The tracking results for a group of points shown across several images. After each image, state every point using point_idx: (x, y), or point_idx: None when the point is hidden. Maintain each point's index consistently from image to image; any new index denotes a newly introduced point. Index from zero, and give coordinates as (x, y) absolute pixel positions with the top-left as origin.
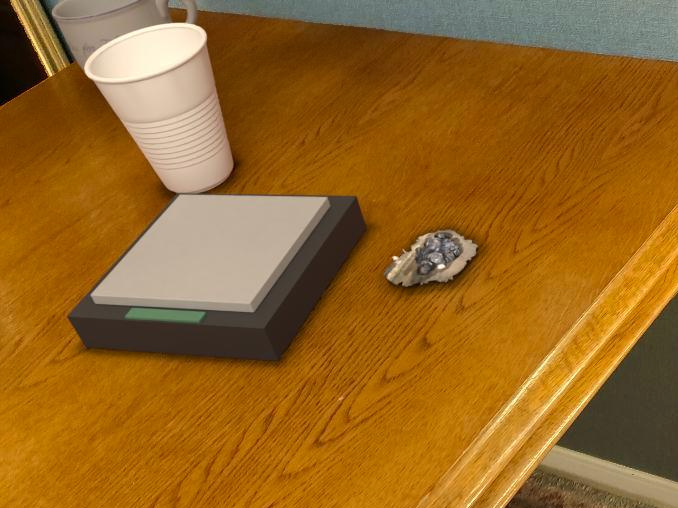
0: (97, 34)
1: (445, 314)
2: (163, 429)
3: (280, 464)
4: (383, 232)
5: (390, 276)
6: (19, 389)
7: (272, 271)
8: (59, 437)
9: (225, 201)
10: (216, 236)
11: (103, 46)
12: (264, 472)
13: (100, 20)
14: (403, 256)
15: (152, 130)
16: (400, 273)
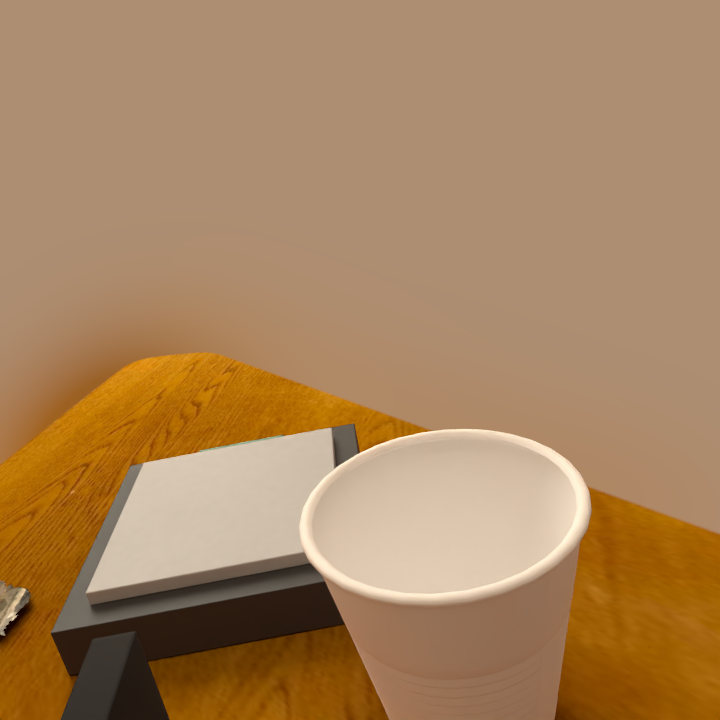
0: None
1: None
2: (222, 438)
3: (112, 449)
4: (41, 676)
5: (21, 591)
6: (388, 421)
7: (131, 491)
8: (309, 413)
9: (250, 551)
10: (227, 506)
11: (579, 487)
12: (123, 442)
13: None
14: (4, 626)
15: (421, 540)
16: (9, 602)
